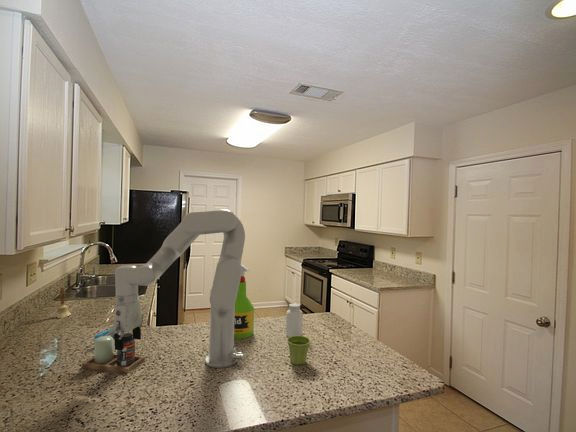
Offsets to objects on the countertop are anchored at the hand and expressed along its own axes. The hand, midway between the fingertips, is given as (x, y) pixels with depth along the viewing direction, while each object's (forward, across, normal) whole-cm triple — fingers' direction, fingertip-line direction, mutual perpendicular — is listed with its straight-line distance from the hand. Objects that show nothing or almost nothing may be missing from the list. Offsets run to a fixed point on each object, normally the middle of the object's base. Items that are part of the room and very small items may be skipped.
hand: (128, 344), depth 117 cm
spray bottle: (+11, +42, -27) cm, 51 cm away
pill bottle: (+12, +45, -56) cm, 73 cm away
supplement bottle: (+8, 0, +1) cm, 8 cm away
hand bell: (+7, +44, +75) cm, 88 cm away
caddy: (+9, 0, +6) cm, 10 cm away
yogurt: (+8, +16, +23) cm, 30 cm away
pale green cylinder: (+7, 0, +10) cm, 13 cm away
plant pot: (+12, +18, -62) cm, 65 cm away
